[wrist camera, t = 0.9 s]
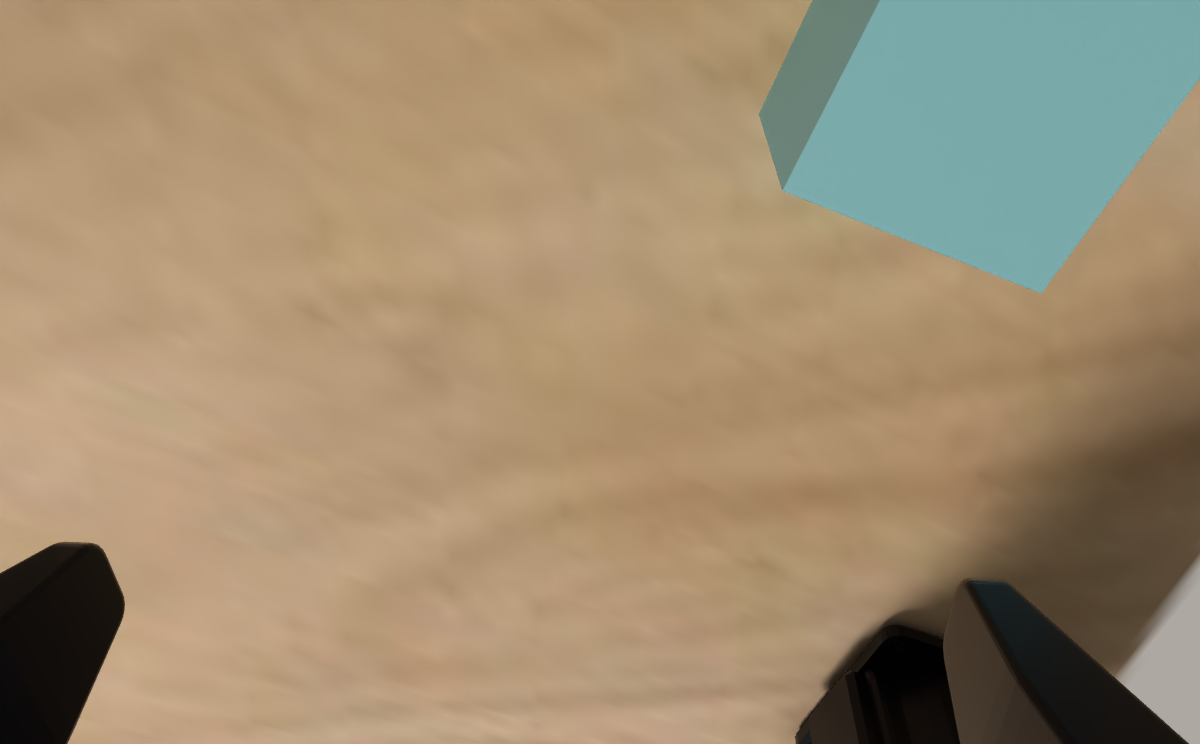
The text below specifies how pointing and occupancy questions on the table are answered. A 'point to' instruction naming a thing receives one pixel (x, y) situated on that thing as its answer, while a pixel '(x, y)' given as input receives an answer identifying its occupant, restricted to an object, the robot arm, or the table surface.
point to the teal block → (978, 117)
